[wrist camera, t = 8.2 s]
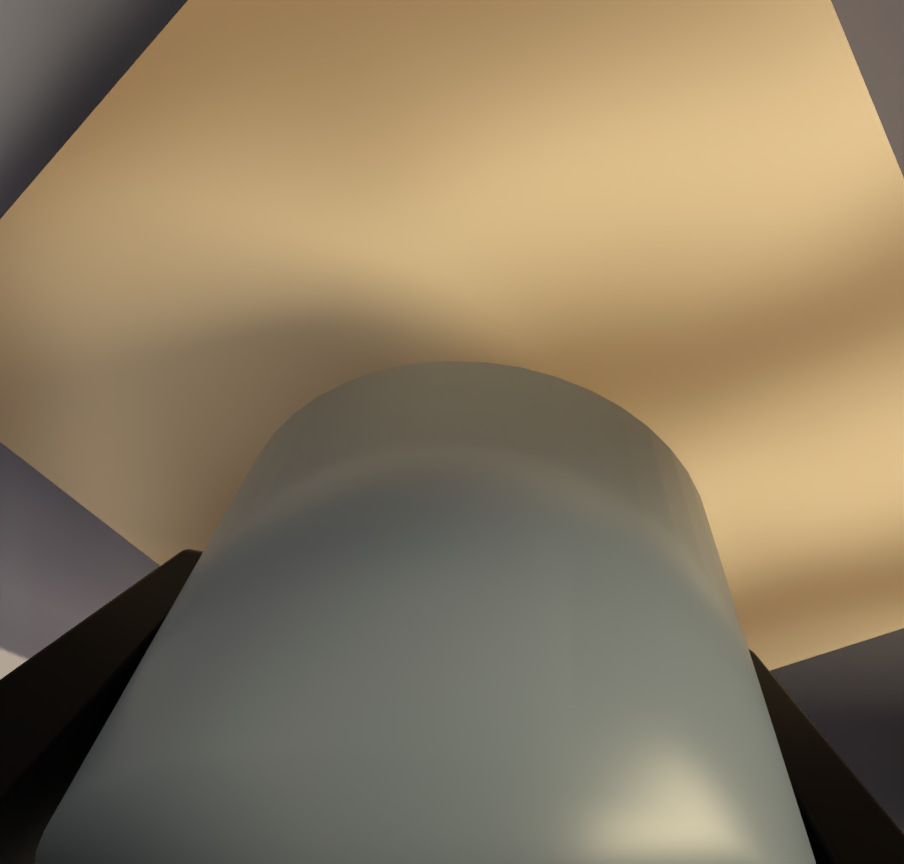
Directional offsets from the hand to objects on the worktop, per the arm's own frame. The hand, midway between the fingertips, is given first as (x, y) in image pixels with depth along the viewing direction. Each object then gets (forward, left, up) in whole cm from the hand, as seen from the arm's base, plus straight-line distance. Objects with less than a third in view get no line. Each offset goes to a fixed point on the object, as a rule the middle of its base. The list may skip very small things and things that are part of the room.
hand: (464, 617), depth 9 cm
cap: (0, 0, -1) cm, 1 cm away
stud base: (0, 0, -5) cm, 5 cm away
